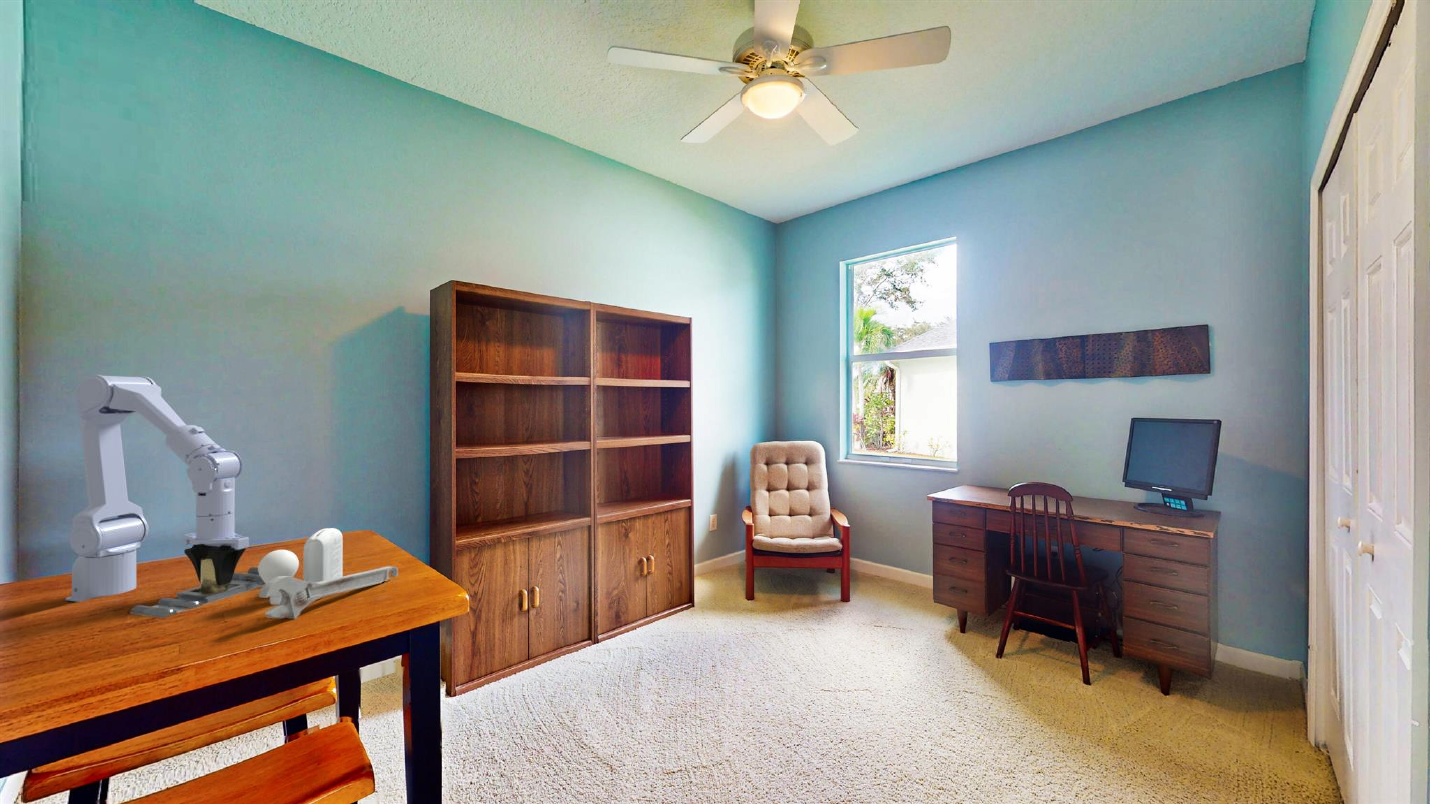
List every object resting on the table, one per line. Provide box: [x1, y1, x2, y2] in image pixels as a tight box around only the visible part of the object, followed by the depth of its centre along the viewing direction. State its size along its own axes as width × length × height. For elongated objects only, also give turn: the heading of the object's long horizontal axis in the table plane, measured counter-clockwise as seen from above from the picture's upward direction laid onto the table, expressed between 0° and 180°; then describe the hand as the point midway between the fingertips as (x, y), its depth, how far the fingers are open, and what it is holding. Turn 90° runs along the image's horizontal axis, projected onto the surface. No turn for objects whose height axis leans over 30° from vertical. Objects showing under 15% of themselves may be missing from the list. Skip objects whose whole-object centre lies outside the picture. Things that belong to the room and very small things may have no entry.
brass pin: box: [200, 556, 228, 594], centre depth 111 cm, size 4×4×7 cm
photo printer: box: [302, 527, 344, 583], centre depth 118 cm, size 10×4×12 cm, turn 13°
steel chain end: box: [130, 591, 247, 619], centre depth 107 cm, size 8×15×2 cm, turn 166°
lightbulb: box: [257, 549, 300, 606], centre depth 107 cm, size 6×6×11 cm
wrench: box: [258, 566, 399, 620], centre depth 111 cm, size 8×2×30 cm
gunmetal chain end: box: [176, 566, 265, 604], centre depth 114 cm, size 8×15×3 cm, turn 166°
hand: (215, 582), depth 111 cm, fingers closed on brass pin, 4 cm apart
